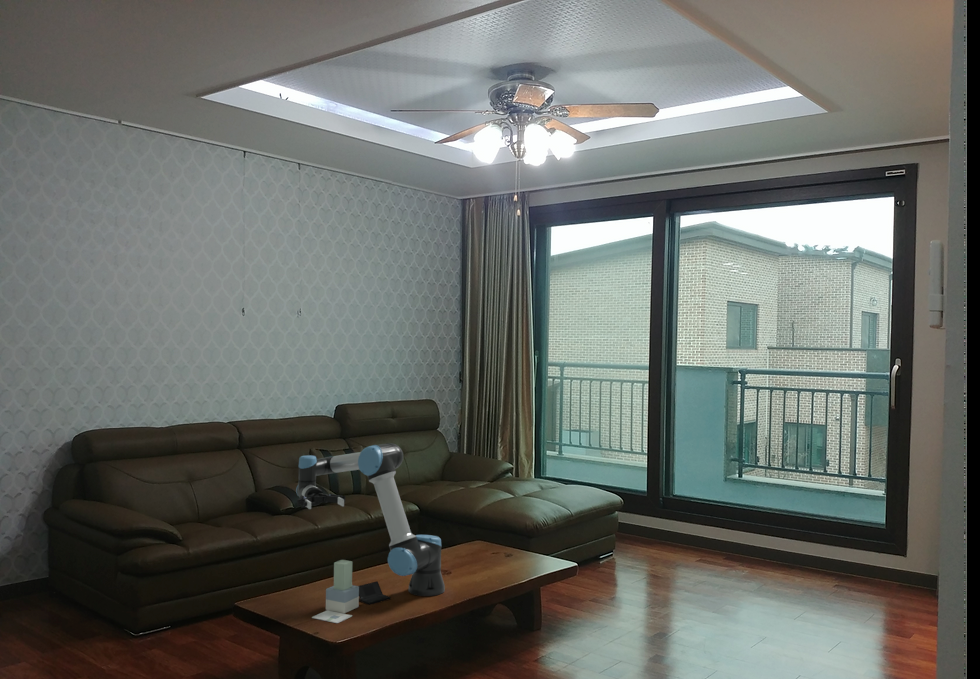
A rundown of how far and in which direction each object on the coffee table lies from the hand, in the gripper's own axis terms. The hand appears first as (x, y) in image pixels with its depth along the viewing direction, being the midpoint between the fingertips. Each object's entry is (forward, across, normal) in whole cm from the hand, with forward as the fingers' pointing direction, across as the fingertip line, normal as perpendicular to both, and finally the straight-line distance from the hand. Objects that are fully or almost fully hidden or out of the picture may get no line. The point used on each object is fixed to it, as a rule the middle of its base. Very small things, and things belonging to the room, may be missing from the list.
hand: (326, 504), depth 315 cm
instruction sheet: (+23, +4, -38) cm, 44 cm away
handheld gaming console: (+9, -17, -38) cm, 43 cm away
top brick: (+15, -3, -30) cm, 34 cm away
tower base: (+14, -3, -38) cm, 41 cm away
